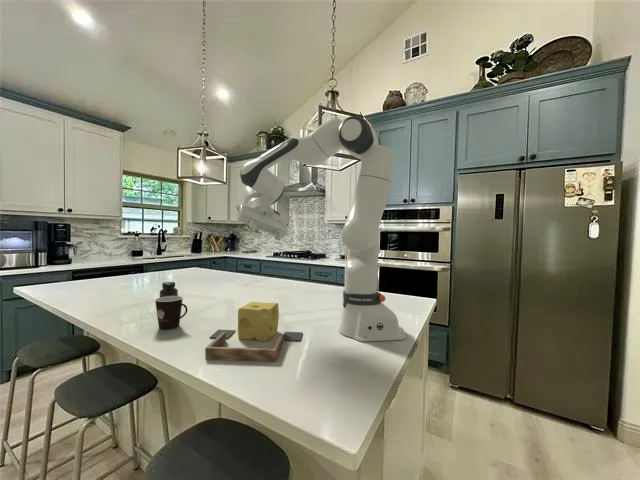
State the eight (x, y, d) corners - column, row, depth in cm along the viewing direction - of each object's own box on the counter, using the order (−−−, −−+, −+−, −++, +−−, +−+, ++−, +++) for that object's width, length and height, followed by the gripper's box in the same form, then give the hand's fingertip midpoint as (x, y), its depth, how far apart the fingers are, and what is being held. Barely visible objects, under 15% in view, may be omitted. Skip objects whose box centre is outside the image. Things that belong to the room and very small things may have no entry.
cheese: (267, 342, 91) (268, 310, 90) (235, 339, 93) (235, 308, 92) (279, 331, 101) (279, 302, 101) (249, 328, 103) (250, 300, 103)
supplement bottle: (161, 309, 125) (161, 281, 124) (179, 308, 127) (179, 280, 126) (158, 313, 118) (157, 284, 118) (176, 312, 120) (176, 283, 120)
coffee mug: (152, 326, 103) (151, 298, 103) (177, 321, 109) (177, 294, 109) (162, 335, 95) (162, 304, 95) (189, 329, 101) (189, 300, 101)
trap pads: (302, 333, 99) (302, 332, 99) (300, 341, 92) (300, 340, 92) (218, 330, 100) (218, 329, 100) (209, 338, 93) (209, 337, 93)
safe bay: (283, 343, 90) (283, 333, 90) (275, 361, 77) (275, 350, 77) (222, 341, 91) (222, 331, 91) (205, 359, 78) (205, 348, 78)
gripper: (239, 196, 105) (246, 217, 95) (284, 216, 117) (295, 237, 108) (230, 209, 107) (236, 232, 97) (276, 227, 120) (285, 249, 110)
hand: (267, 234), depth 102 cm, fingers open, 8 cm apart
